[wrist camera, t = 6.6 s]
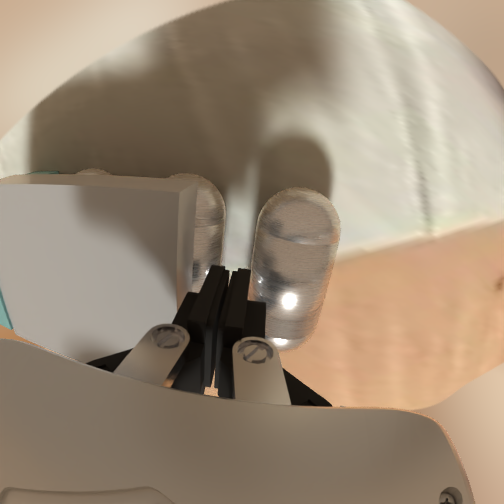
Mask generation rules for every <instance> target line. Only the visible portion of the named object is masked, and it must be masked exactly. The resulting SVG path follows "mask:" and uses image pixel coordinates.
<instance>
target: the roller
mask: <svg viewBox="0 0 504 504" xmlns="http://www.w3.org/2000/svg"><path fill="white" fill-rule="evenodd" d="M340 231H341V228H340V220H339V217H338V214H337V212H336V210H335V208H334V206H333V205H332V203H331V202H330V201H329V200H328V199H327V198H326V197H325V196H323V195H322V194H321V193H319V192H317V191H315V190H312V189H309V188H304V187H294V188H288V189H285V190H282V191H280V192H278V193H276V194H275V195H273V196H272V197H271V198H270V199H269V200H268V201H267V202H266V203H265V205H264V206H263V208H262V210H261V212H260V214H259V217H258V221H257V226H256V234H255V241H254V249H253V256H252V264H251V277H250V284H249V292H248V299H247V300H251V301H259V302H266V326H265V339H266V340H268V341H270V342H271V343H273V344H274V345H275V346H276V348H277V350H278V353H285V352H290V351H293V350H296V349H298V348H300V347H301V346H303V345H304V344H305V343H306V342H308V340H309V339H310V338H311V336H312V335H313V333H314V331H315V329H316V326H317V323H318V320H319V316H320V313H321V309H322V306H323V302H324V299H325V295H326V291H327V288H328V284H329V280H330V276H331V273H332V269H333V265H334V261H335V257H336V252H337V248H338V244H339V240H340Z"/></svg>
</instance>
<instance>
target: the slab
mask: <svg viewBox="0 0 504 504" xmlns="http://www.w3.org/2000/svg"><path fill="white" fill-rule="evenodd" d="M197 189H198V181H189V180H178V179H165V178H151V177H135V176H115V175H85V174H27V175H12V176H9V177H5V178H2V179H0V289H1V292H2V295H3V299H4V302H5V305H6V308H7V311H8V314H9V317H10V320H11V323H12V326H13V328H14V331H15V334H16V335H18V336H20V337H22V338H25V339H26V340H29V341H31V342H33V343H35V344H38V345H40V346H42V347H44V348H47V349H49V350H52V351H54V352H56V353H59V354H61V355H64V356H67V357H69V358H72V359H75V360H77V361H80V362H83V363H88V362H90V361H92V360H96V359H99V358H102V357H106V356H109V355H112V354H116V353H119V352H122V351H125V350H129V349H132V348H134V347H135V346H136V345H137V343H138V342H139V341H140V340H141V339H142V338H143V336H144V335H145V334H146V333H147V332H148V331H149V330H150V329H151V328H152V327H154V326H156V325H160V324H172V322H173V320H174V318H175V315H176V313H177V312H178V310H179V308H180V306H181V304H182V302H183V300H184V298H185V296H186V294H187V292H189V291H190V292H192V278H193V252H194V233H195V216H196V202H197Z"/></svg>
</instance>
